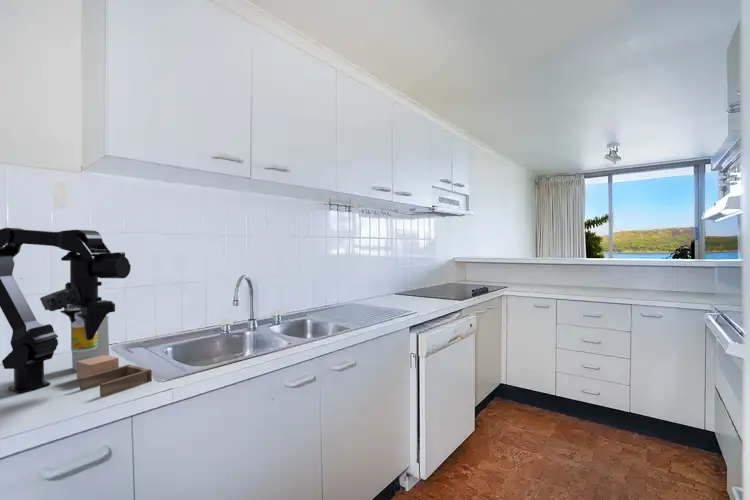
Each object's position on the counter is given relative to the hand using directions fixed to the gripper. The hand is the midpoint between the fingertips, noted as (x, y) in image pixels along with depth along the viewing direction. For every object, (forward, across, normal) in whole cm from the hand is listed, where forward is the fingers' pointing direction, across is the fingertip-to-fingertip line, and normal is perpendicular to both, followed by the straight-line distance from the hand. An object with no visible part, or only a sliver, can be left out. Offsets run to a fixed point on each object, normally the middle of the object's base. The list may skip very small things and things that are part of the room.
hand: (84, 338), depth 96 cm
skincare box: (+13, -17, +9) cm, 23 cm away
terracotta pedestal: (+13, -5, +5) cm, 15 cm away
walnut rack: (+13, +6, +5) cm, 15 cm away
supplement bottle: (+3, 0, 0) cm, 3 cm away
